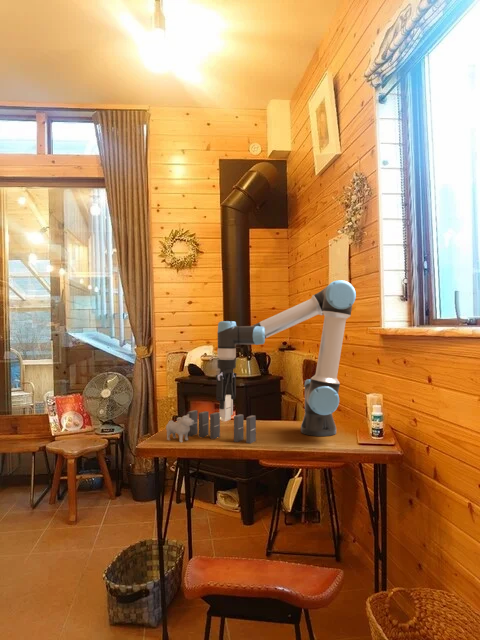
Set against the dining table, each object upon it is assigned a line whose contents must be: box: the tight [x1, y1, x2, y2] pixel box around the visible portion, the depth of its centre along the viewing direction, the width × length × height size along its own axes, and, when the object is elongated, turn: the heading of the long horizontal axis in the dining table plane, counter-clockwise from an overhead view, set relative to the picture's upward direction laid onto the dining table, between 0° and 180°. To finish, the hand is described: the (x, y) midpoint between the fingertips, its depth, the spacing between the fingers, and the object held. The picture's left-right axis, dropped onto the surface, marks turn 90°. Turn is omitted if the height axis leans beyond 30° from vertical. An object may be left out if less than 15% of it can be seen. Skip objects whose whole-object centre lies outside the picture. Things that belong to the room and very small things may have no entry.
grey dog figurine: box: [165, 413, 194, 443], centre depth 182 cm, size 5×13×11 cm, turn 57°
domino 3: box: [209, 411, 221, 440], centre depth 186 cm, size 2×5×10 cm, turn 153°
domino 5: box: [245, 414, 257, 444], centre depth 179 cm, size 2×5×10 cm, turn 153°
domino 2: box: [198, 410, 210, 438], centre depth 189 cm, size 2×5×10 cm, turn 153°
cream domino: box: [220, 394, 232, 422], centre depth 184 cm, size 2×5×10 cm, turn 153°
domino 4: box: [233, 413, 245, 443], centre depth 181 cm, size 2×5×10 cm, turn 153°
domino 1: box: [187, 409, 199, 437], centre depth 191 cm, size 2×5×10 cm, turn 153°
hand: (226, 415), depth 184 cm, fingers closed on cream domino, 5 cm apart
